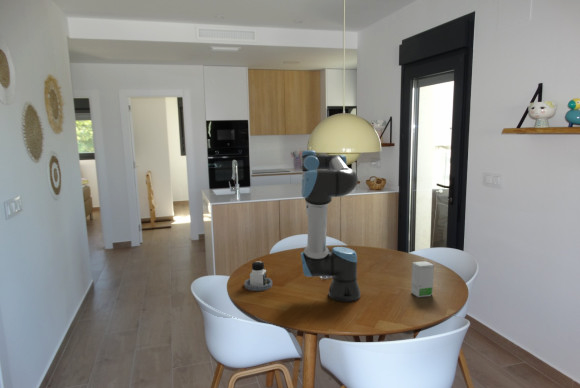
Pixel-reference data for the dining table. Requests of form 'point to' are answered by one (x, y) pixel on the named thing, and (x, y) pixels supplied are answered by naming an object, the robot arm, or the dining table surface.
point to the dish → (258, 288)
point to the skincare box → (422, 279)
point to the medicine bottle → (258, 274)
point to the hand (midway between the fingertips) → (309, 216)
